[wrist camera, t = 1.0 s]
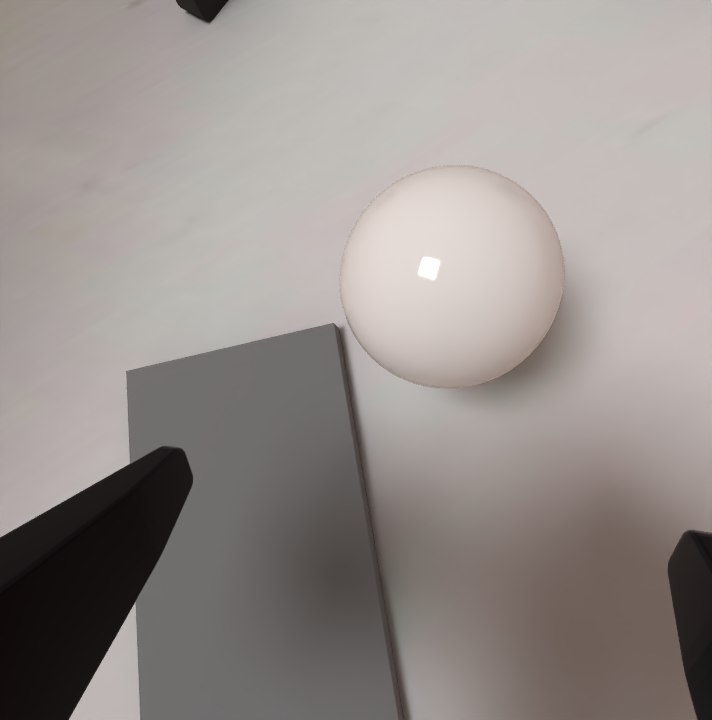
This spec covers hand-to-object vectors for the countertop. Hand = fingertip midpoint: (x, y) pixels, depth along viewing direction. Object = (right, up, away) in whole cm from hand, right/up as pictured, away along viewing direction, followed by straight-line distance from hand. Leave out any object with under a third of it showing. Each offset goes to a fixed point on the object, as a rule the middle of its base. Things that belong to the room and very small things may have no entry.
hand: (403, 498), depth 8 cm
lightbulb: (+4, +3, +13) cm, 14 cm away
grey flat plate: (-5, -6, +13) cm, 15 cm away
